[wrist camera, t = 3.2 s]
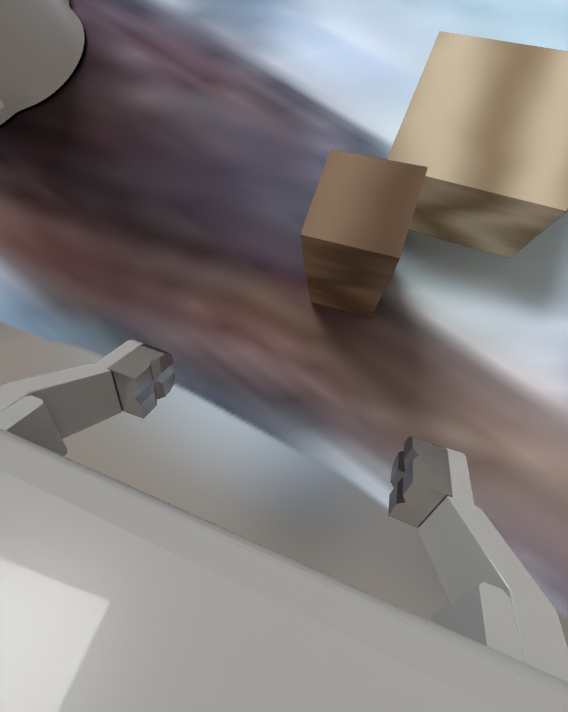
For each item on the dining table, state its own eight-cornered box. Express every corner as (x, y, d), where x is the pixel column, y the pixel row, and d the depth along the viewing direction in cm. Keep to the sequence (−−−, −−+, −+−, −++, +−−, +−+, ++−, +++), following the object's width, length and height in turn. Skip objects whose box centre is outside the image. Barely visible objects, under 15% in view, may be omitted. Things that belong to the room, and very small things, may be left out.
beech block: (371, 220, 26) (384, 165, 20) (415, 112, 27) (439, 31, 21) (507, 259, 24) (566, 211, 18) (549, 140, 25) (616, 58, 19)
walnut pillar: (310, 302, 25) (300, 234, 16) (329, 247, 26) (330, 149, 16) (370, 318, 24) (400, 258, 15) (388, 261, 25) (427, 167, 15)
